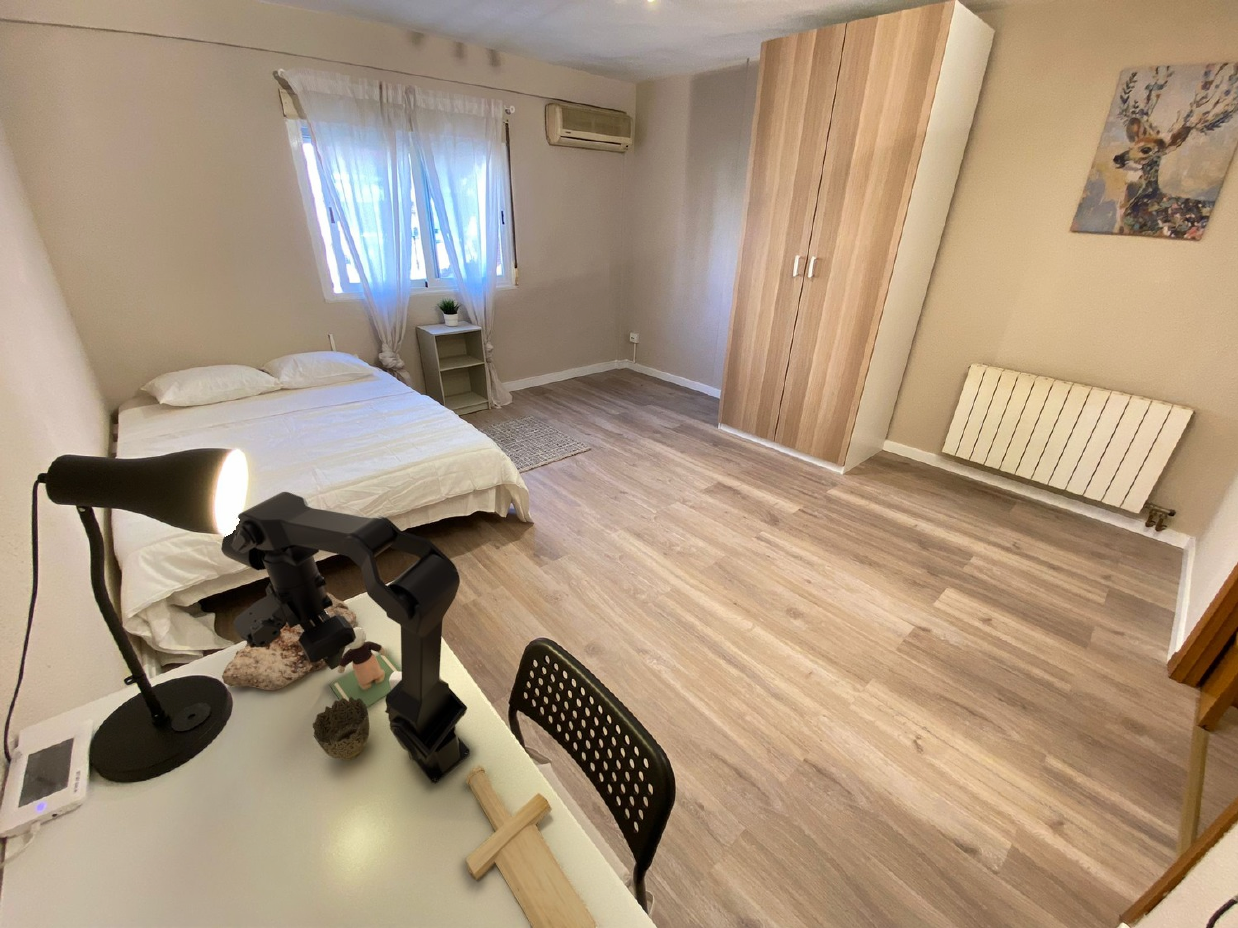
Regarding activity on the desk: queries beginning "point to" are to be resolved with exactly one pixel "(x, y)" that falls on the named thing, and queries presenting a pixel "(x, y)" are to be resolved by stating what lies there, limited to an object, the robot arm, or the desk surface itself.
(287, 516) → the robot arm
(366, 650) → the grandmother figurine
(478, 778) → the toy sword
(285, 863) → the desk surface
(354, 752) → the cup
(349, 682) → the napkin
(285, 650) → the stone
